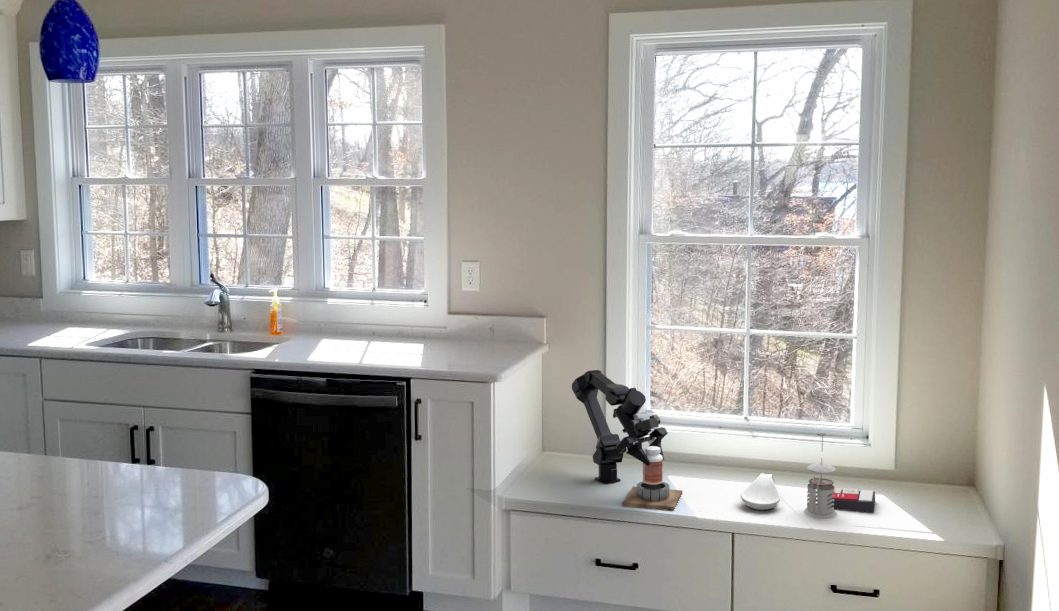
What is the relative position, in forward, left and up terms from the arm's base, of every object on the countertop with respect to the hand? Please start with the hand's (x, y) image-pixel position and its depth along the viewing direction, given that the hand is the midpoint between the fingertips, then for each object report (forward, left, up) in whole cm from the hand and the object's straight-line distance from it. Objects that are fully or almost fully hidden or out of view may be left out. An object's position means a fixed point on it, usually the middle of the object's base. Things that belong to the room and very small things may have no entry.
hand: (656, 462), depth 304 cm
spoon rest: (+17, +28, -13) cm, 36 cm away
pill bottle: (-1, 0, -7) cm, 7 cm away
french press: (+35, +35, -13) cm, 51 cm away
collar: (-1, 0, -11) cm, 11 cm away
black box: (+34, +48, -13) cm, 60 cm away
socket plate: (-1, 0, -12) cm, 12 cm away
